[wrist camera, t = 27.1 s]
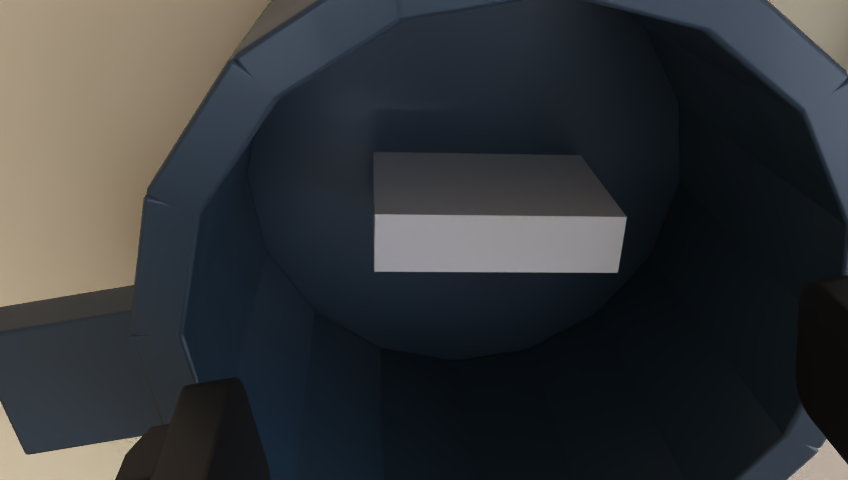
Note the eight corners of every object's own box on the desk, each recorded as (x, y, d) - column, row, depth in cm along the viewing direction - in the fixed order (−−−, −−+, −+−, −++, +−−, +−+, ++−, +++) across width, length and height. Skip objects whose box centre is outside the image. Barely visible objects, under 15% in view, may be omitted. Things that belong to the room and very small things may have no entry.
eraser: (575, 204, 19) (618, 273, 16) (372, 201, 19) (372, 272, 15) (581, 154, 18) (628, 215, 15) (372, 150, 18) (373, 212, 15)
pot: (802, 318, 21) (1004, 525, 15) (184, 420, 21) (100, 673, 15) (835, -156, 16) (1162, -174, 10) (28, -21, 16) (-207, 56, 10)
